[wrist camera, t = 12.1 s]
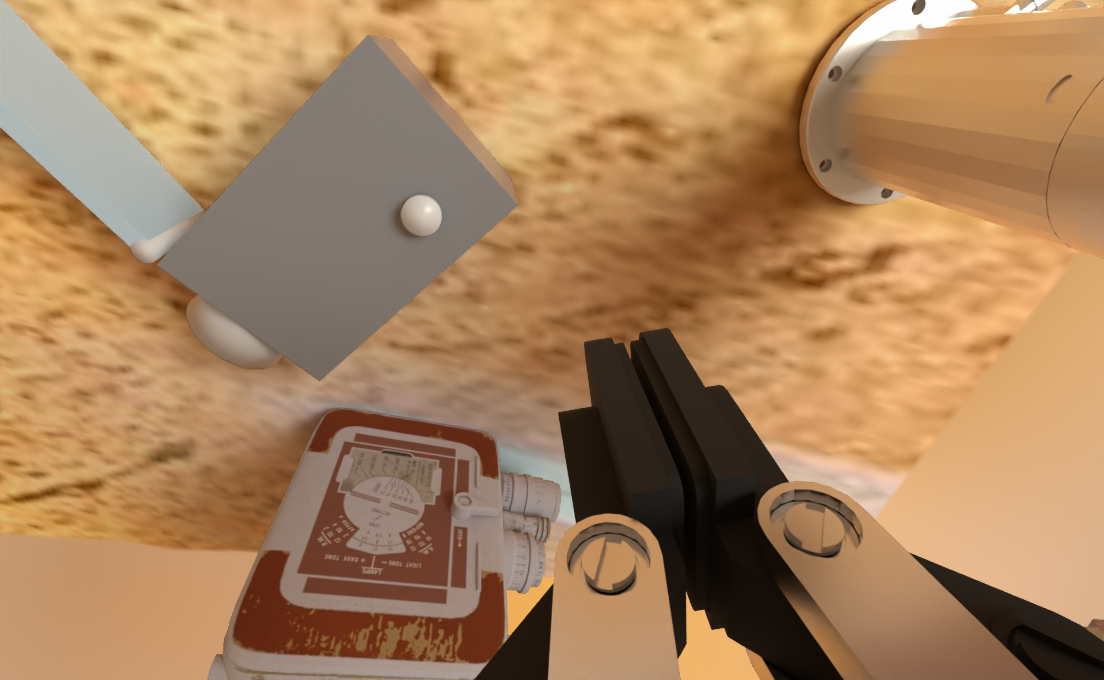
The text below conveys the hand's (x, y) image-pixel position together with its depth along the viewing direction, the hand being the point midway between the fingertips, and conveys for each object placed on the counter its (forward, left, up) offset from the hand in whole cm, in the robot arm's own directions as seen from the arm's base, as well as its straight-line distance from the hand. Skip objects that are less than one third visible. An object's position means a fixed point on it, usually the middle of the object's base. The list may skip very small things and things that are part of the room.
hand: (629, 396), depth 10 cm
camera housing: (+11, -5, -26) cm, 28 cm away
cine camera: (+21, +13, -26) cm, 36 cm away
